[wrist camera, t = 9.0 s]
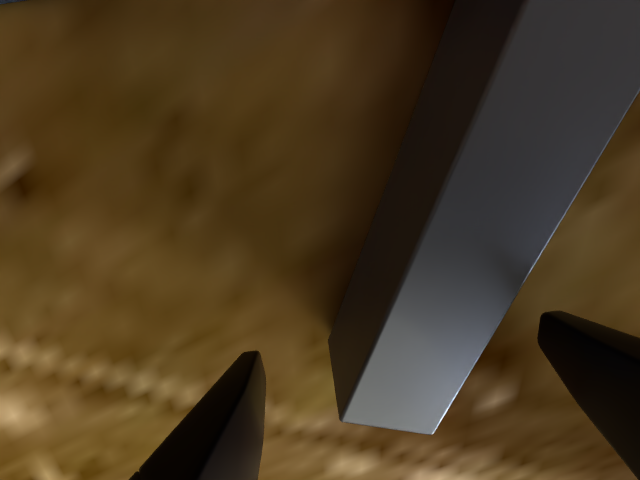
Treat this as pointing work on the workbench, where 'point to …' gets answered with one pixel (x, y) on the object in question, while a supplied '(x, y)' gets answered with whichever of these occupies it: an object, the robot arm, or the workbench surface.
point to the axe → (477, 195)
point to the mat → (9, 1)
